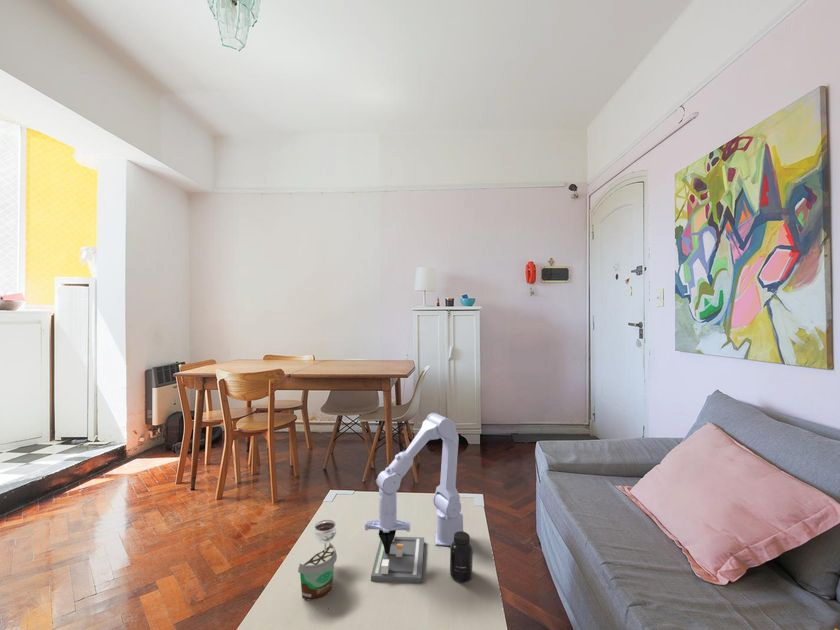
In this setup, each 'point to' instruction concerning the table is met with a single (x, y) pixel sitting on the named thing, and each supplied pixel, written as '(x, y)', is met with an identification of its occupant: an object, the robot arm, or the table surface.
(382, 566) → the block
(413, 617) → the table surface
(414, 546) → the panel
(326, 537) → the wineglass
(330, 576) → the food container
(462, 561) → the supplement bottle
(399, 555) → the block
